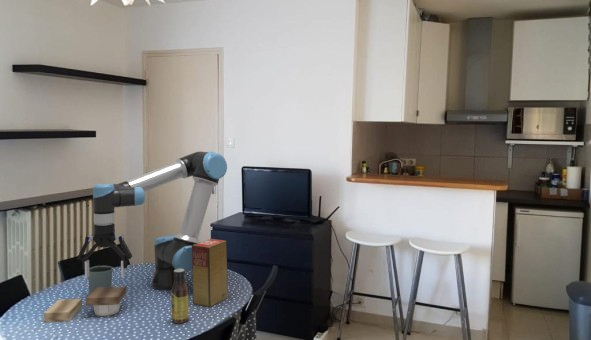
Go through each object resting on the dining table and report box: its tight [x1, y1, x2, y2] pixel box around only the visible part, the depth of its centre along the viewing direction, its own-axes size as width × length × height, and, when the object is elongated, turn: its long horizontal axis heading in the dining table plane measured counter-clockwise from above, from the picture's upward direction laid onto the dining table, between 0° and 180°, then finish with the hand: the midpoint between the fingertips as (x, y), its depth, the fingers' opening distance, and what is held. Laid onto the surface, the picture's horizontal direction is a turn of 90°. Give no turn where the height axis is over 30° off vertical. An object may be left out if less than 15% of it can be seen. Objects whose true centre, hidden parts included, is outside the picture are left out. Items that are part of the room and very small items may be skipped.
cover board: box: [85, 286, 127, 307], centre depth 181 cm, size 12×12×3 cm
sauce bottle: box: [170, 269, 190, 324], centre depth 172 cm, size 6×6×20 cm
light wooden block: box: [43, 298, 83, 323], centre depth 178 cm, size 9×14×4 cm, turn 7°
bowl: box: [93, 302, 121, 317], centre depth 181 cm, size 9×9×5 cm
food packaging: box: [192, 238, 229, 308], centre depth 193 cm, size 13×9×25 cm
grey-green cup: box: [87, 265, 114, 294], centre depth 199 cm, size 10×10×12 cm
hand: (105, 276), depth 180 cm, fingers open, 13 cm apart
